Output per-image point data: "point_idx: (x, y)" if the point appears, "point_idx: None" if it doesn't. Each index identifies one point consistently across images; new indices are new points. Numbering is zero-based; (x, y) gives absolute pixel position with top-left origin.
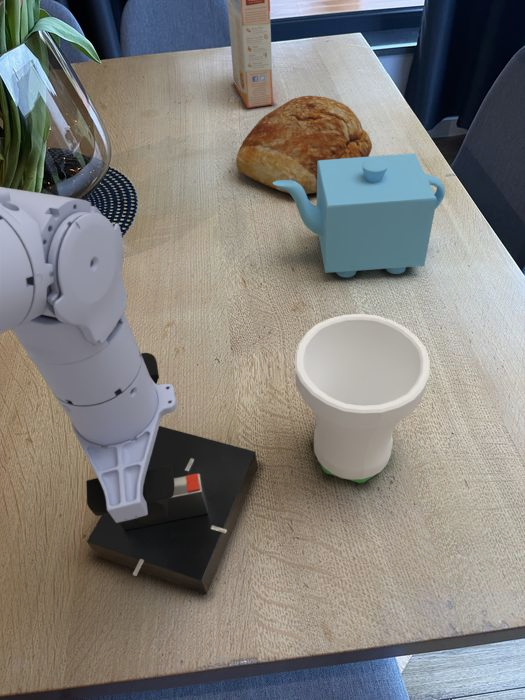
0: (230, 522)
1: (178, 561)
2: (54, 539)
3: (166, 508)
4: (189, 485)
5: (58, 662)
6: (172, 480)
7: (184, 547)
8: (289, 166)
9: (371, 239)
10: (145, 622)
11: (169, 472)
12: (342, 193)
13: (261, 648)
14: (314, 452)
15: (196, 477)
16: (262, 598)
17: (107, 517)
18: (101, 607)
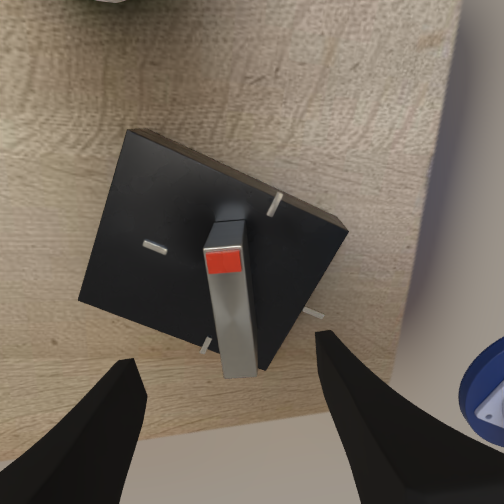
0: (252, 182)
1: (314, 262)
2: (238, 384)
3: (353, 354)
4: (230, 268)
5: (373, 365)
6: (494, 490)
7: (294, 254)
8: None
9: None
10: (354, 287)
11: (455, 499)
12: None
13: (422, 147)
14: (117, 2)
15: (214, 256)
16: (359, 139)
17: None
18: None
